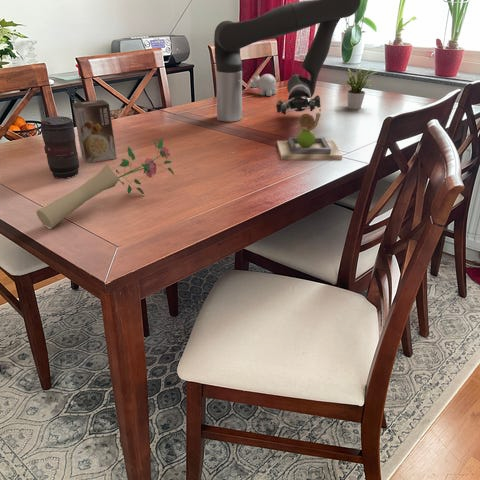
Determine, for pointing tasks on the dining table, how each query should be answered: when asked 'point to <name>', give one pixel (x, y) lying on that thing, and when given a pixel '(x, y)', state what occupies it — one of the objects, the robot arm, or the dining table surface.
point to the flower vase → (96, 188)
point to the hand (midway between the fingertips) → (297, 109)
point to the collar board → (308, 149)
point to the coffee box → (94, 130)
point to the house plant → (356, 89)
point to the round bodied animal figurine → (265, 84)
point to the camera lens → (60, 146)
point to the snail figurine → (307, 130)
